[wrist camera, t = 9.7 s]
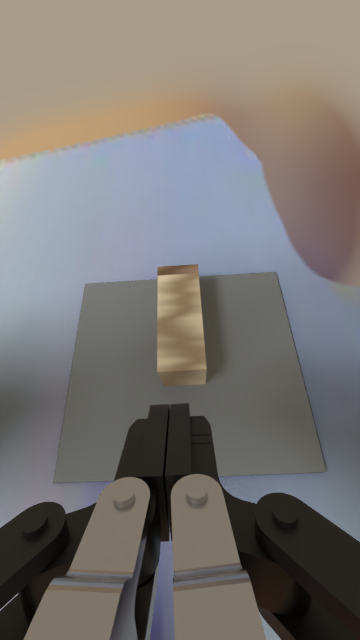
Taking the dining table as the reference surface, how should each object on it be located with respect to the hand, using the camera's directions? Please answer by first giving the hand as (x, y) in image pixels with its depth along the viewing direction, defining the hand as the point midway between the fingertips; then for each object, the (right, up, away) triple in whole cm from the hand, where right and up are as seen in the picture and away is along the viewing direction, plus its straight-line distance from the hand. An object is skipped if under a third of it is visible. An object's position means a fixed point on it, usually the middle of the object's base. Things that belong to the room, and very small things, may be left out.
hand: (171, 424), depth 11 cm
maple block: (+1, -1, +16) cm, 16 cm away
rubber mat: (+1, 0, +20) cm, 20 cm away
